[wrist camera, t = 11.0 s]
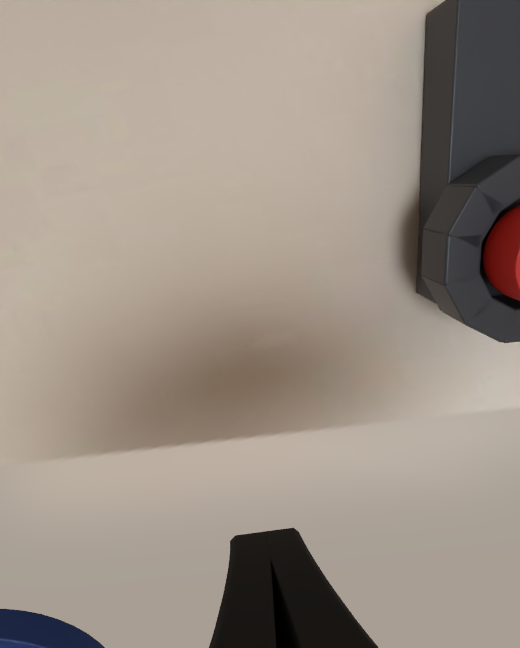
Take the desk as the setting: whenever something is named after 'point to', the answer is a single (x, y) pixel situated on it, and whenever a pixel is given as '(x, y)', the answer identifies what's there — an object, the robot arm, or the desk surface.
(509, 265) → the power button
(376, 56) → the desk surface
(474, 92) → the power block
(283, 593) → the robot arm
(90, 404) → the desk surface
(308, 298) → the desk surface
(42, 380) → the desk surface
